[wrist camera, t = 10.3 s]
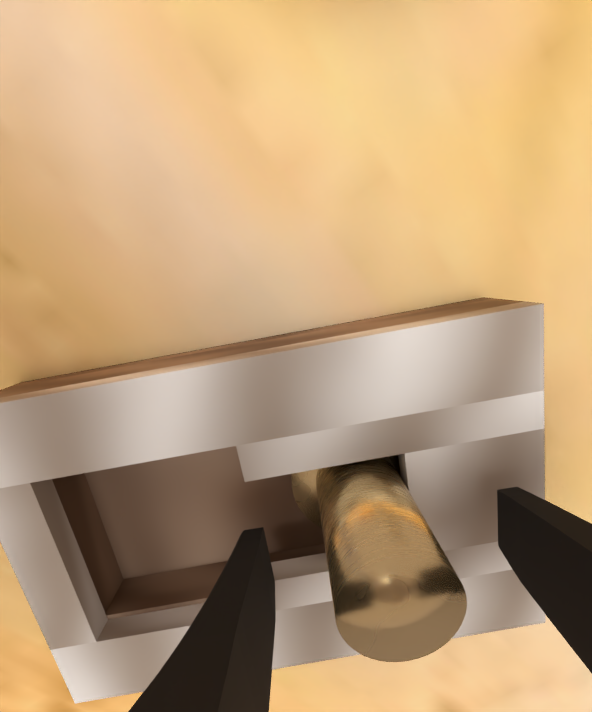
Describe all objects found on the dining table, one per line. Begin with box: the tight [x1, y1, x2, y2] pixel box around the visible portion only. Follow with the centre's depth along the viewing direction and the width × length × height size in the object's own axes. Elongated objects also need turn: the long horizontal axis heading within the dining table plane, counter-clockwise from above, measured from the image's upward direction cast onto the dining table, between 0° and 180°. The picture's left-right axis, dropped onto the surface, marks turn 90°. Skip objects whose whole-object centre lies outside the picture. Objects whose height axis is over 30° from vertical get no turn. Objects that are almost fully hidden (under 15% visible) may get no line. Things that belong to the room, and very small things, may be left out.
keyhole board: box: [0, 298, 545, 703], centre depth 13 cm, size 18×12×3 cm, turn 100°
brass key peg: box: [291, 455, 467, 662], centre depth 10 cm, size 5×5×6 cm
